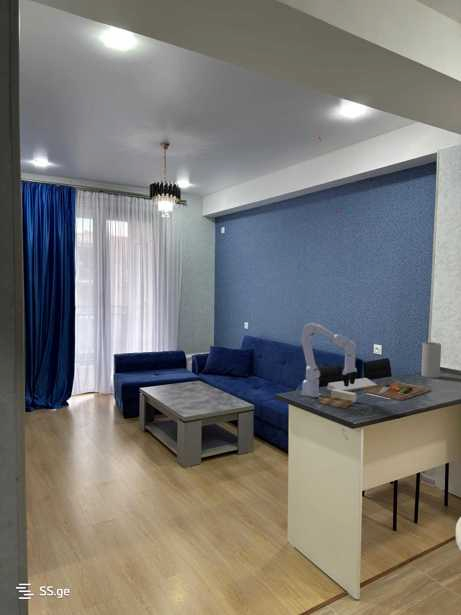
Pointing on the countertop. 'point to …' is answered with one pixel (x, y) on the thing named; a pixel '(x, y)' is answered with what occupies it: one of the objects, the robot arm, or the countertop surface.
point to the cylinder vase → (431, 359)
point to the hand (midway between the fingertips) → (349, 385)
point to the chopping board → (396, 391)
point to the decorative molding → (352, 385)
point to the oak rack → (335, 401)
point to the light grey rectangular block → (344, 394)
